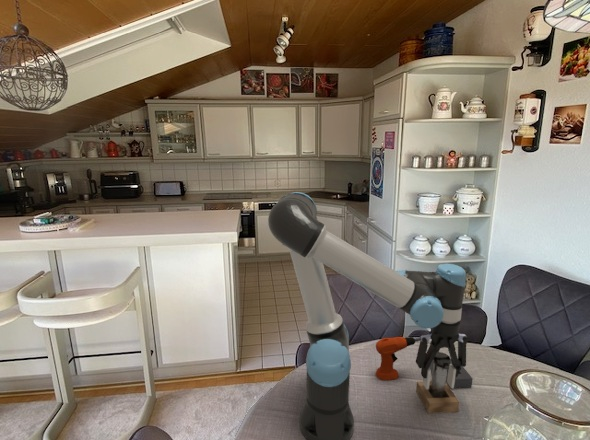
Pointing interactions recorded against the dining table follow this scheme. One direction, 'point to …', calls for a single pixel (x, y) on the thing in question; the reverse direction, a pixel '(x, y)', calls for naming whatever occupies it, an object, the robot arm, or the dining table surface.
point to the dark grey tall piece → (439, 374)
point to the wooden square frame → (437, 400)
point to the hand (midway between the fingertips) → (438, 385)
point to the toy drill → (391, 355)
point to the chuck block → (459, 378)
